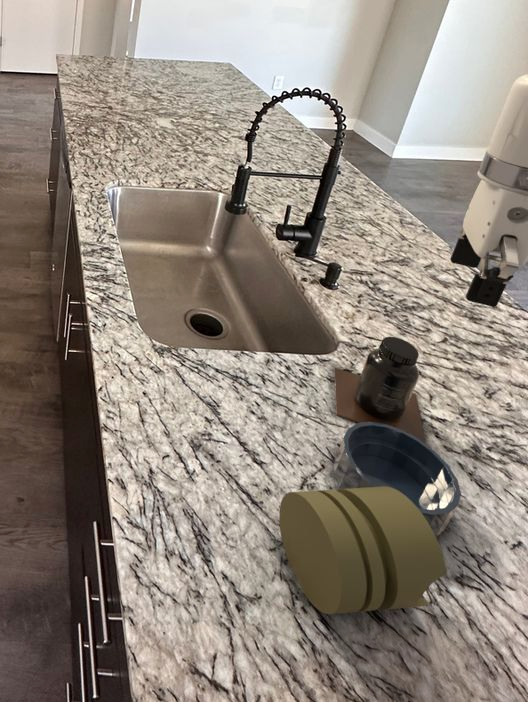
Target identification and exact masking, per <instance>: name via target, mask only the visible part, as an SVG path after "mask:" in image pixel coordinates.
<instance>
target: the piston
mask: <svg viewBox="0 0 528 702" xmlns="http://www.w3.org/2000/svg"><path fill="white" fill-rule="evenodd" d="M278 513H279V514H278V515H279V516H278V517H279V518H278V519H279V520H278V521H279V531H280V537H281V542H282V546H283V550H284V553H285V557H286V559H287V562H288V564H289V565H290V567H291V570H292V572H293V574H294V576H295V578H296V580H297V582H298V584H299V586H300V588H301V590H302V592H303V594H304V596H305V598H307V599H308V601H309V603H311V605H312V606H313V607H314V608H315V609H317V610H318V611H319V612H321V613H322V614H325V615H336V614H347V613H349V614H351V613H357V612H358V613H359V612H360V613H362V612H373V611H377V610H383V611H384V610H396V609H397V610H399V609H410V608H411V609H412V608H420V607H429V604H428V602H427V601H426V599H425V598H423V595H425V592H426V591H427V590H428V588H430V586H431V585H433V583H434V582H435V581H437V580H438V579H440V578H442V577H446V576H448V573H447V566H446V561H445V558H444V554H443V552H442V549H441V545H440V543H439V541H438V539H437V537H435V534H434V532H433V531H432V529H431V527H430V525H429V523H428V522H427V520H426V519H425V517H424V516H423V514H422V513H421V512H420V510H419V509H418V508H417V507H416V506H415V505H414V503H413V502H412V501H411V500H410V499H409V498H407V497H406V496H405V495H404V494H402V493H401V492H399V491H398V490H396V489H394V488H391V487H385V486H384V487H368V488H351V489H341V488H339V489H336V490H335V489H320V490H305V491H290V492H287V493H285V494H284V496H282V499H281V502H280V505H279V512H278Z"/></svg>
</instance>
